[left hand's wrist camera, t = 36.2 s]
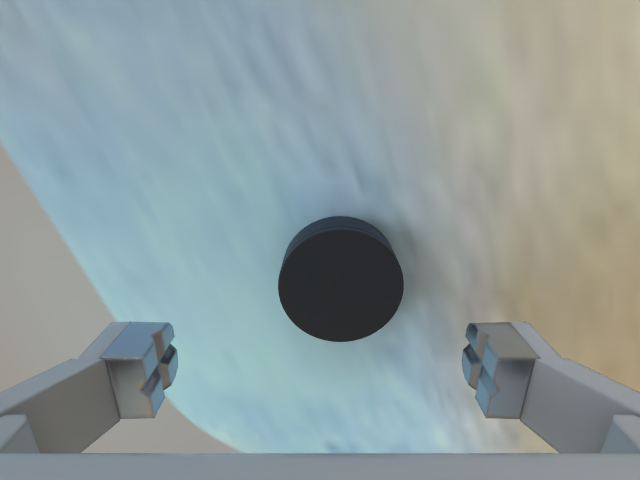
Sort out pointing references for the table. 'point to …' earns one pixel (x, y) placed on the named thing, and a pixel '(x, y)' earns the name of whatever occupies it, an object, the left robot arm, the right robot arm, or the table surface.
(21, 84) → the table surface
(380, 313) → the lid
